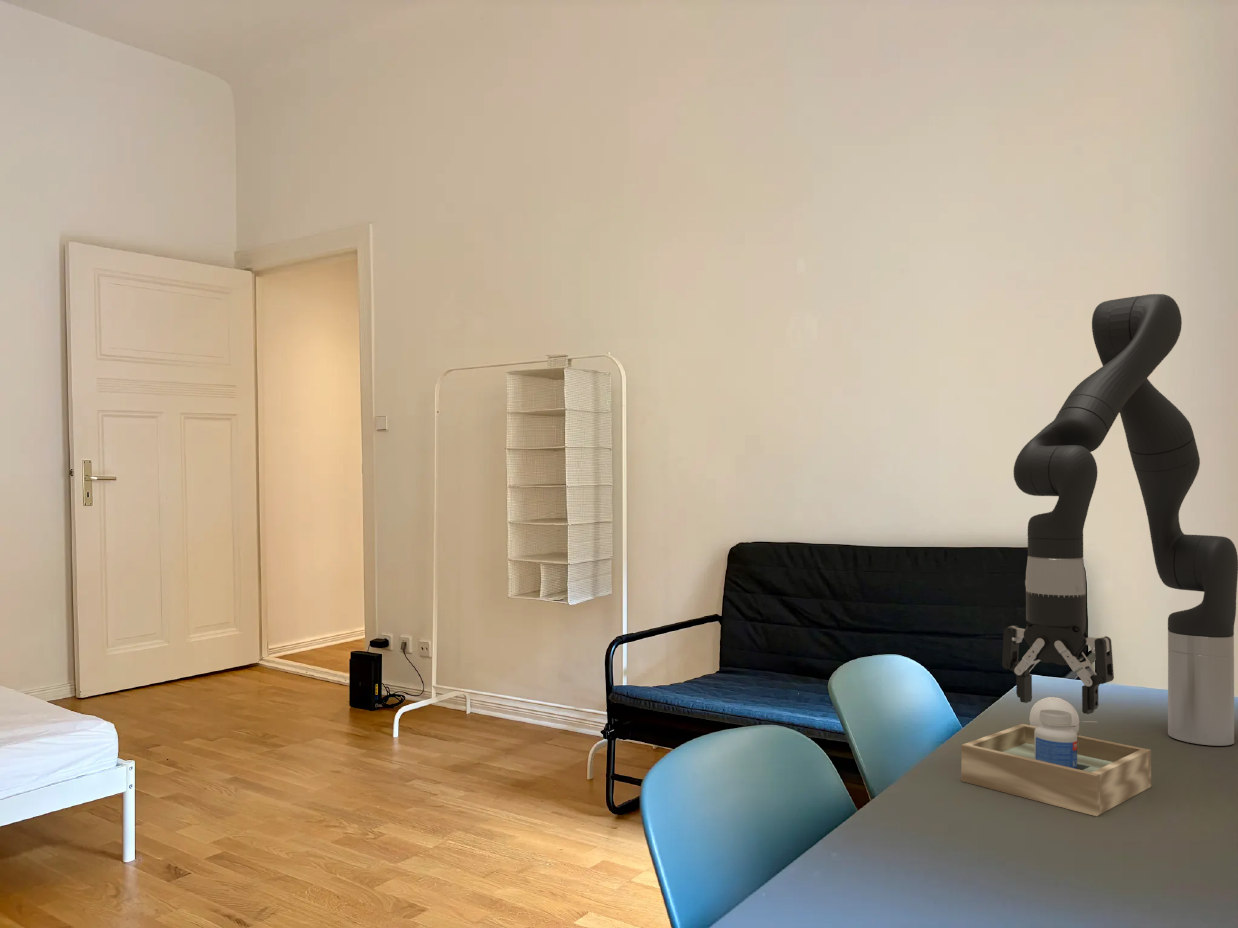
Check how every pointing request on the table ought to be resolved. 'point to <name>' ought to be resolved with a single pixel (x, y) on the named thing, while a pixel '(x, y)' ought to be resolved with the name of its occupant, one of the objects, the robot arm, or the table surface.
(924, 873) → the table surface
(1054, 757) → the pill bottle
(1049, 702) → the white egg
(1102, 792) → the bore box
